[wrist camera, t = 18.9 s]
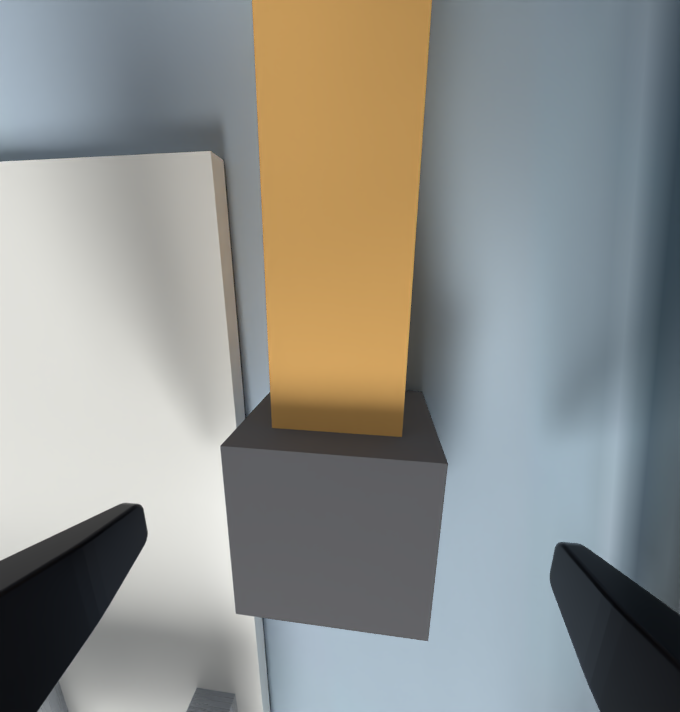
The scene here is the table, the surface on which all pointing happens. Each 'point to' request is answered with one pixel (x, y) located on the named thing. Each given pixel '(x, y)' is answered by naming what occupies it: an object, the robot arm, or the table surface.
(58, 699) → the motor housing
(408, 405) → the plug
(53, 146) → the table surface
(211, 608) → the mount plate
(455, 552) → the table surface
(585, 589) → the robot arm
